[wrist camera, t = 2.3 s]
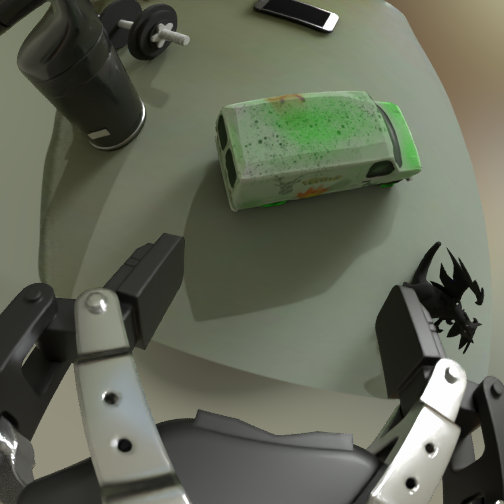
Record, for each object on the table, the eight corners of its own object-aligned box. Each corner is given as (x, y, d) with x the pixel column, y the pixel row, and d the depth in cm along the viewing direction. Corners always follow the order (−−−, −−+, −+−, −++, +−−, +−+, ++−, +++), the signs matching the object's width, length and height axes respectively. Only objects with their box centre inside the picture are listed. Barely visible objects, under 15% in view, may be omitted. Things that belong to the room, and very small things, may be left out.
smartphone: (266, -6, 39) (266, -9, 38) (339, 18, 39) (340, 15, 38) (251, 10, 38) (251, 7, 37) (330, 36, 38) (331, 32, 37)
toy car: (405, 185, 36) (447, 160, 26) (231, 218, 34) (228, 194, 25) (381, 119, 37) (412, 84, 27) (214, 140, 35) (207, 97, 25)
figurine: (414, 300, 41) (477, 307, 33) (392, 367, 34) (466, 380, 26) (409, 215, 33) (489, 219, 25) (387, 286, 26) (493, 297, 18)
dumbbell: (210, 45, 37) (206, 0, 27) (170, 84, 36) (155, 39, 26) (123, 20, 37) (109, -14, 27) (86, 53, 36) (66, 20, 26)
